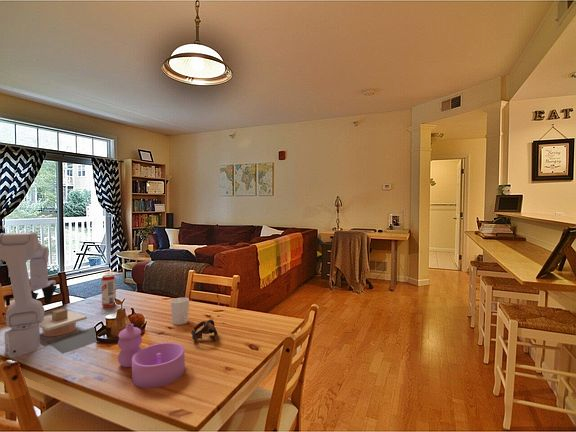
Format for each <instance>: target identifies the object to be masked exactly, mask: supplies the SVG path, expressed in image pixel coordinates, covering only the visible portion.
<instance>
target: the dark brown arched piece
mask: <svg viewBox="0 0 576 432" xmlns="http://www.w3.org/2000/svg"><path fill="white" fill-rule="evenodd" d="M215 325H216V324H215V321H214V320H213V319H211V318H210V319H208V320H202V321H200V322H198V323H197V324H196V325H195V326H194V327H193V330H192V331H190V333H191V339H192V340H193V341H196V340H199V339H200V340H203V335H209V334H213V335H214V336H213V337H214V339H215V342H216V341H217V342H218V341H219V338H220V336H219V333H218V332H217V328H216V326H215ZM201 327H202V328H201ZM200 328H201V329H200ZM199 329H200V330H199Z"/></svg>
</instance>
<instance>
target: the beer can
mask: <svg viewBox="0 0 576 432" xmlns="http://www.w3.org/2000/svg"><path fill="white" fill-rule="evenodd" d="M100 281H101V282H100V283H101V284H100V285H101V306H102V307H103V308H104V309H105V308H112V307H115V305H116V304H115V302H114V298H116V299H117V295H116V294H117V293H116V291H117V290H116V276H115V275H114V274H106V275H105V274H104V275H102V278H101V280H100Z"/></svg>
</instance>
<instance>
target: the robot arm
mask: <svg viewBox="0 0 576 432" xmlns="http://www.w3.org/2000/svg"><path fill="white" fill-rule="evenodd" d="M49 249H50V248H49V246H46V245H43V244H41V242H39V237H38V234H37V233H36V232H35V231H32V232H11V233H10V232H9V233H6V232H5V233H4V232H1V233H0V260H1V261H3V262H6V265H7V269H8V270H7V271H8V274H9V278H10V283H11V290H12V294H13V298H14V302H12V303H11V304H10V305H9V306H8V307H7V309H6V312H5V314H6V315H5V316H6V318H5V319H6V320H5V323H6V326H7V327H8V328H10V330H9V329H8V330H5V332H4V353H5V354H6V355H7V356H8V357H9V358H10V359H14V358H16V357H20V356H23V355H26V354H29V353H33V352H35V351H38V350H42V349H45V346H44V345H43V344H41V337H40V336H41V335H40V327H39V323H41V322H42V321H43V320H44V318H45V308H44V306H43V302H42V301H40V300H38V298H37V297H38V295H39V293H38V292H36V291H38V290H41V291H42V295H43V299H44V300H43V301H44V304H51V302H52V300H53V296H54V293H55V291H56V289H57V288H58V287H57V286H58V285H57V283H56V282H57V281H56V280H55V279H51V280H49V276H48V274H49V273H48V272H49V271H48V270H49V269H48V263H49V255H50V250H49ZM28 261H29V269H28V266H27V265H28V264H27V262H28ZM28 270H29V273H28ZM29 276H30V277H29Z"/></svg>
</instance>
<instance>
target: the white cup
mask: <svg viewBox="0 0 576 432" xmlns="http://www.w3.org/2000/svg"><path fill="white" fill-rule="evenodd" d="M169 303H170V312H171V323H172V324H173V325H177V326H179V325H184V324H187V323H188V322H189V314H190V313H189V311H190V309H189V308H190V299H189V298H188V297H176V298H173V299H171V300H170V302H169Z"/></svg>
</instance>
